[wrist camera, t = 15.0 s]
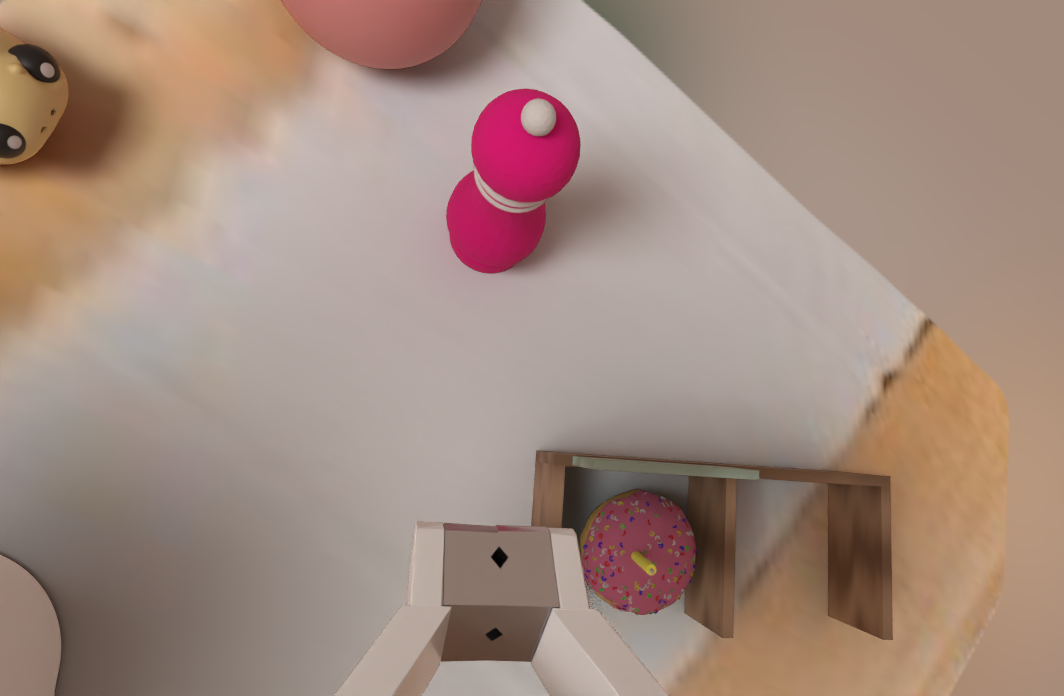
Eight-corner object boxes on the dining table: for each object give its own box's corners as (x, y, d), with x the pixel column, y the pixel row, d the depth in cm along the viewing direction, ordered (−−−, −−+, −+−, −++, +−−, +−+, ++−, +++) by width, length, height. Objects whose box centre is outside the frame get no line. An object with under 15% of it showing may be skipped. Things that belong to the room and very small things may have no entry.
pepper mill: (430, 260, 48) (446, 144, 29) (460, 179, 49) (496, 15, 30) (516, 292, 49) (588, 202, 30) (543, 212, 50) (630, 75, 31)
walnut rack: (836, 615, 51) (951, 664, 40) (525, 610, 46) (561, 664, 35) (836, 471, 53) (946, 481, 42) (536, 450, 48) (574, 456, 37)
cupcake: (560, 594, 47) (612, 649, 35) (568, 481, 48) (620, 497, 36) (666, 597, 48) (749, 650, 37) (670, 487, 50) (752, 505, 38)
